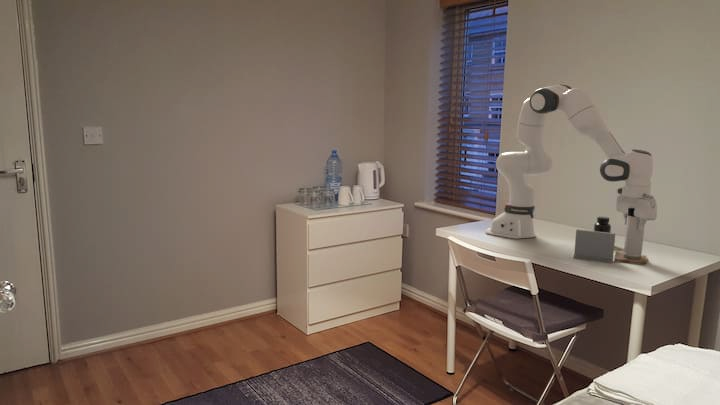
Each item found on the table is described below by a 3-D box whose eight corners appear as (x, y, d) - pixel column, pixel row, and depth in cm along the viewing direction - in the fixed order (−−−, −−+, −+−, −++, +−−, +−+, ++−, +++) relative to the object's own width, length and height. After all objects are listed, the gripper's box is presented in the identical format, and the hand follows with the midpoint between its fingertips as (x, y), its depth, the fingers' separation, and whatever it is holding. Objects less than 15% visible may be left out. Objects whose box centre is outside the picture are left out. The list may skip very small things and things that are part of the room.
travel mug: (619, 256, 208) (624, 206, 205) (629, 254, 212) (633, 205, 208) (634, 260, 203) (640, 209, 200) (644, 257, 207) (649, 207, 203)
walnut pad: (614, 261, 205) (614, 258, 205) (615, 254, 215) (615, 252, 215) (646, 265, 200) (646, 262, 200) (646, 258, 210) (646, 255, 210)
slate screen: (573, 258, 209) (575, 231, 207) (574, 255, 212) (576, 229, 210) (612, 263, 202) (614, 235, 201) (612, 260, 206) (615, 233, 204)
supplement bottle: (611, 246, 228) (613, 219, 225) (594, 245, 229) (596, 218, 227) (607, 242, 234) (609, 216, 232) (590, 241, 236) (593, 215, 233)
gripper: (663, 196, 193) (659, 233, 196) (628, 188, 213) (625, 221, 216) (647, 196, 192) (643, 233, 195) (614, 188, 212) (611, 222, 215)
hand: (633, 227), depth 205 cm, fingers closed on travel mug, 6 cm apart
